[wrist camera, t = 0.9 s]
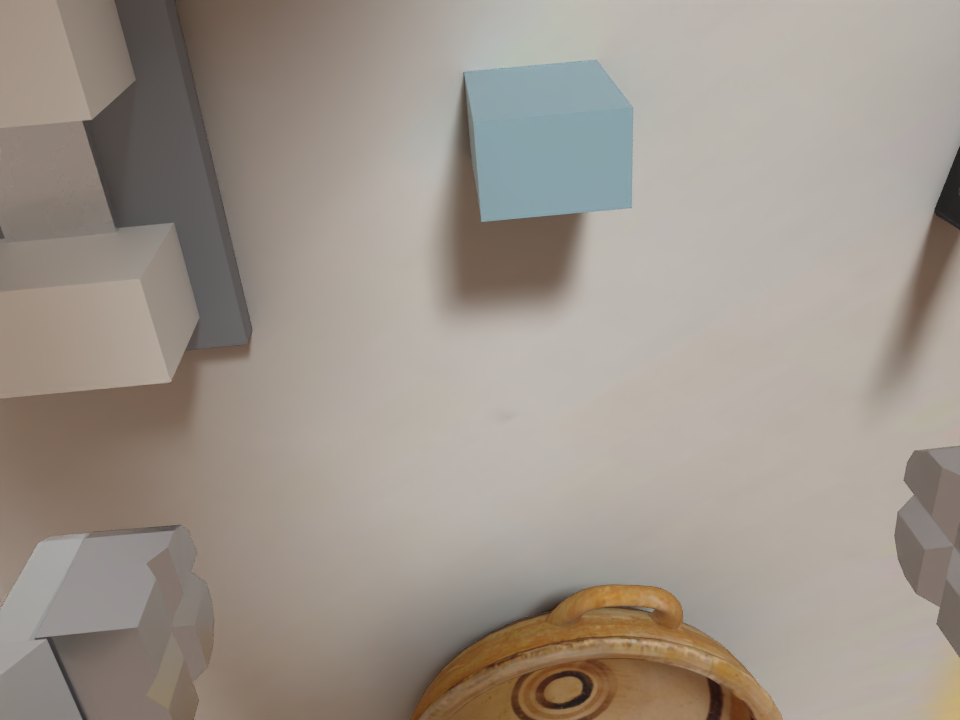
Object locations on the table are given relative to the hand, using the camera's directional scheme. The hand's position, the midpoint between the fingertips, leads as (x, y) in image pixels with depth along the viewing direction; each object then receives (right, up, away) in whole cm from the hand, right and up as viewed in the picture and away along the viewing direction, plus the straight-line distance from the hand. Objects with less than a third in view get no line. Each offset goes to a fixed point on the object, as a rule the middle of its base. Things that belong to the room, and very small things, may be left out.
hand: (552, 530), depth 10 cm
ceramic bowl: (+5, -20, +51) cm, 55 cm away
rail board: (-20, +11, +31) cm, 39 cm away
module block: (+2, +13, +31) cm, 34 cm away
